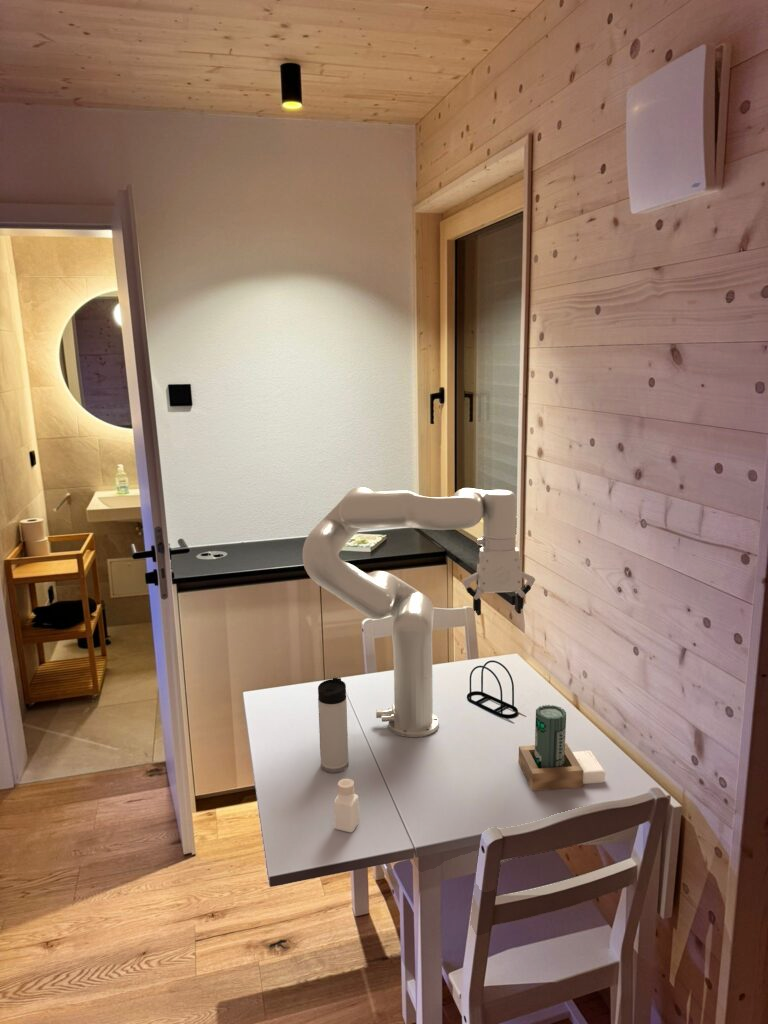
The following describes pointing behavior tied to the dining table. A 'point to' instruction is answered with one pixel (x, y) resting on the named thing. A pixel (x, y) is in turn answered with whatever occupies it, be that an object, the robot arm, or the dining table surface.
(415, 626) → the robot arm
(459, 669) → the dining table surface
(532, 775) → the socket
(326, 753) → the travel mug
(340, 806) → the pepper shaker
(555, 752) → the can
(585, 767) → the soap
